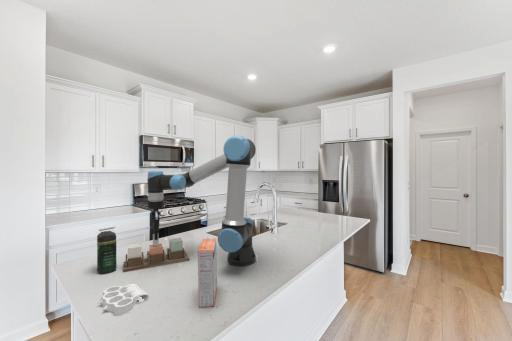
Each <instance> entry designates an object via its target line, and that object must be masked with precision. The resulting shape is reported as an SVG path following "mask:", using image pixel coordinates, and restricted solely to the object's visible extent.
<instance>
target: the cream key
mask: <svg viewBox="0 0 512 341" xmlns="http://www.w3.org/2000/svg"><path fill="white" fill-rule="evenodd" d="M137 257H141V258H142V243H141V242H140V243H132V244H127V260H128V259H130V258H137Z"/></svg>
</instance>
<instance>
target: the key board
mask: <svg viewBox="0 0 512 341" xmlns="http://www.w3.org/2000/svg"><path fill="white" fill-rule="evenodd" d="M166 250H167V251H166V252H167V253H166V252H165V249H164V248H163V253H162V254H156V255H149V250H147V252H146V255H147V256H146V257H145V258H144V251H141V257H137V258H130V259H128V253H126V254H125V261H123V263H122V264H123V266H122V272H123V273H126V272H133V271H138V270H144V269H149V268H155V267H161V266H166V265H172V264H177V263H182V262H188V261H190V256H189V255H188V253H187V252H186V250H185V248H184V247H183V250H181V251H175V252H170V250H169V247H167V248H166Z"/></svg>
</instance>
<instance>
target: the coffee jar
mask: <svg viewBox="0 0 512 341" xmlns="http://www.w3.org/2000/svg"><path fill="white" fill-rule="evenodd" d="M96 237H97V238H96V246H97V247H96V249H97V250H96V259H97V260H96V261H97V262H96V265H97V267H96V268H97V273H99V274H110V273H112V272H114V271H116V270H117V233H116V232H114V231H111V230H105V231H100V233H98V234H97V236H96Z"/></svg>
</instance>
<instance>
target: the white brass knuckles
mask: <svg viewBox="0 0 512 341" xmlns="http://www.w3.org/2000/svg"><path fill="white" fill-rule="evenodd" d="M139 297H142V299H144V300H145V301H147V300H148V299H149V294H148V293H147V292H145V291H144V289H143V288H141V287H139V286H138V284H136V283H130V284H127V285H124V286H123V285H122V286H120V285H113V286H109V287H107V288H105V289H104V290H103V291H102V299H101V300H100V301H99V302H97V304H99V305H102V308H103V309H102V311H105V312H108V311H112V312H111V313H113V312H114V313H113V314H114V315H115V316H122V314H124V315H126V314H125V313H127V314H129V313H130V312H132V311H133V309H134V307H135V306H136V305H138V304H141V303H140V302H139V300H137V299H138V298H139ZM137 303H138V304H137ZM131 310H132V311H131ZM129 311H130V312H129ZM128 312H129V313H128Z"/></svg>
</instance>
